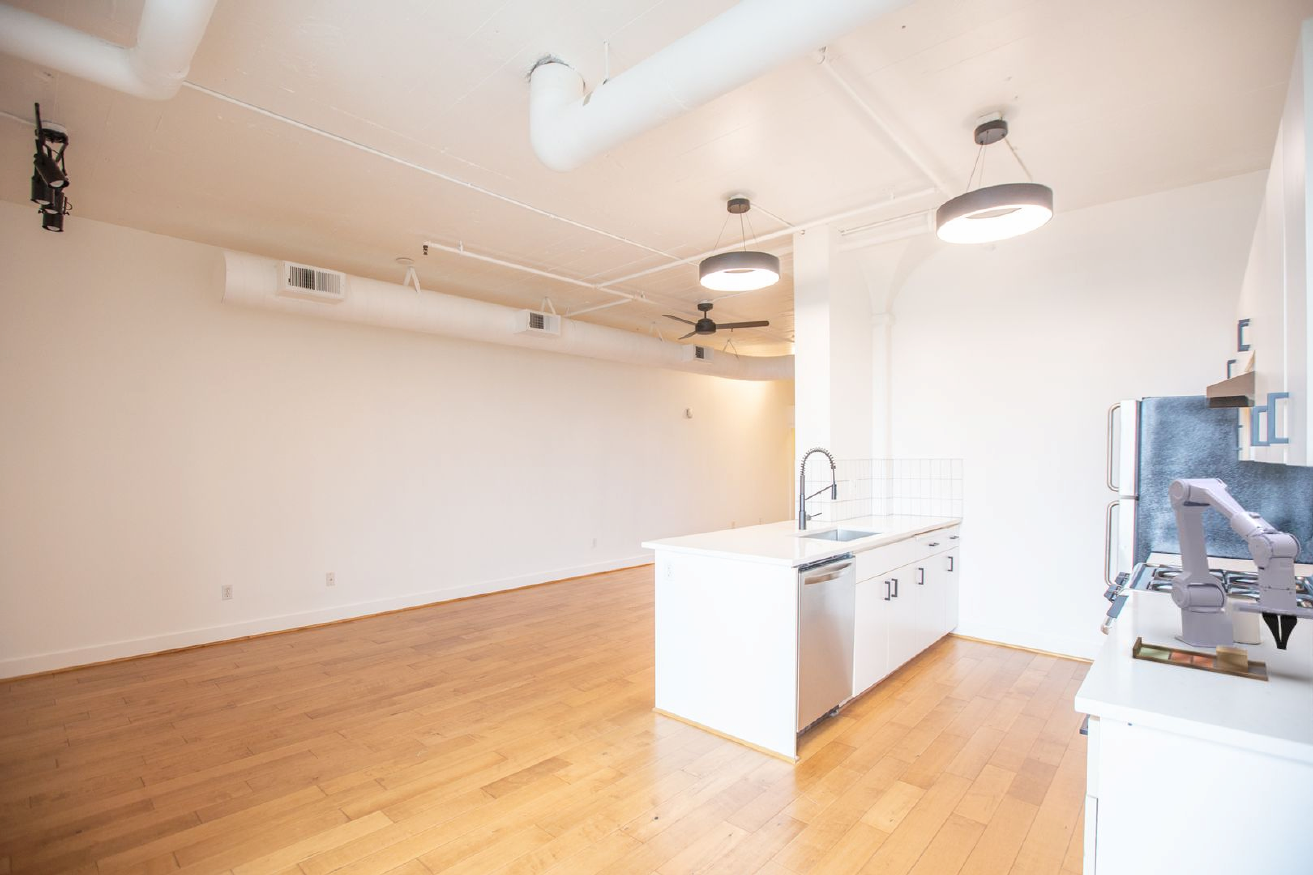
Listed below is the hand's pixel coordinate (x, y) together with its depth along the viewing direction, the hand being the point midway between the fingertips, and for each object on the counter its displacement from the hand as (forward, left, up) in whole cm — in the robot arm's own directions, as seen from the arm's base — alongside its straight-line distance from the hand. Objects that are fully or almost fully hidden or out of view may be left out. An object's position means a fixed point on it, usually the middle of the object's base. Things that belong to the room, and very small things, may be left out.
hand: (1281, 648), depth 129 cm
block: (+7, -4, -6) cm, 10 cm away
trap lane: (+12, -8, -6) cm, 15 cm away
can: (-11, -29, -7) cm, 31 cm away
